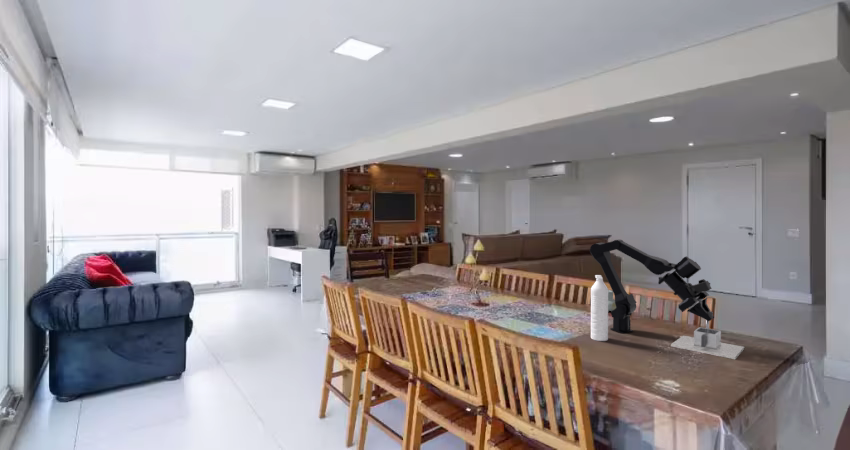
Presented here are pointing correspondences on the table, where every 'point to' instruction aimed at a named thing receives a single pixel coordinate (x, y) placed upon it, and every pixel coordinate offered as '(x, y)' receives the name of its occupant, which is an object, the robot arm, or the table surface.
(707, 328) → the plunger
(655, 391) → the table surface
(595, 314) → the water bottle
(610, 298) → the air freshener
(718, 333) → the white socket holder tray
